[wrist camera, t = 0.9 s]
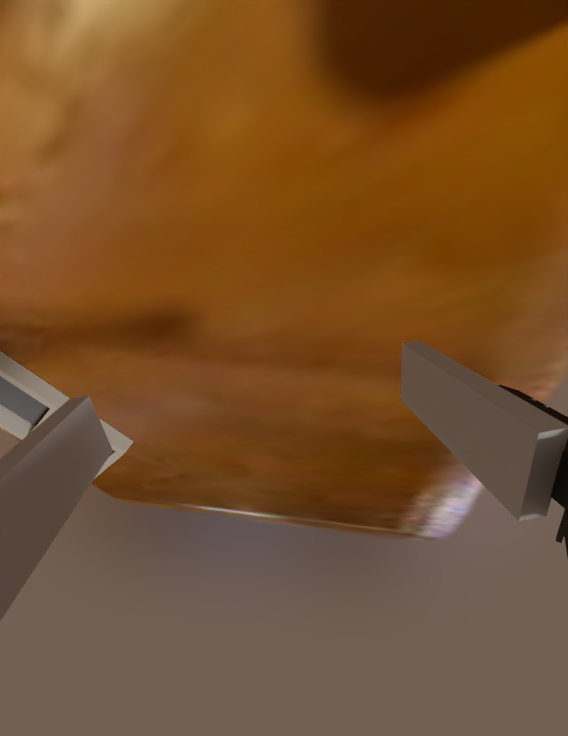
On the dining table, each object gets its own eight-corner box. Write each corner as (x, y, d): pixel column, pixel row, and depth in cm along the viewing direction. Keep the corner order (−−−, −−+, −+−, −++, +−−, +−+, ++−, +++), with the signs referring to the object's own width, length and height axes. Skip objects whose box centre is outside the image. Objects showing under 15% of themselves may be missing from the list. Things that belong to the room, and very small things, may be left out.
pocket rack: (-110, 341, 38) (-130, 349, 36) (-95, 286, 33) (-117, 292, 31) (99, 470, 47) (91, 481, 45) (133, 441, 42) (125, 452, 41)
